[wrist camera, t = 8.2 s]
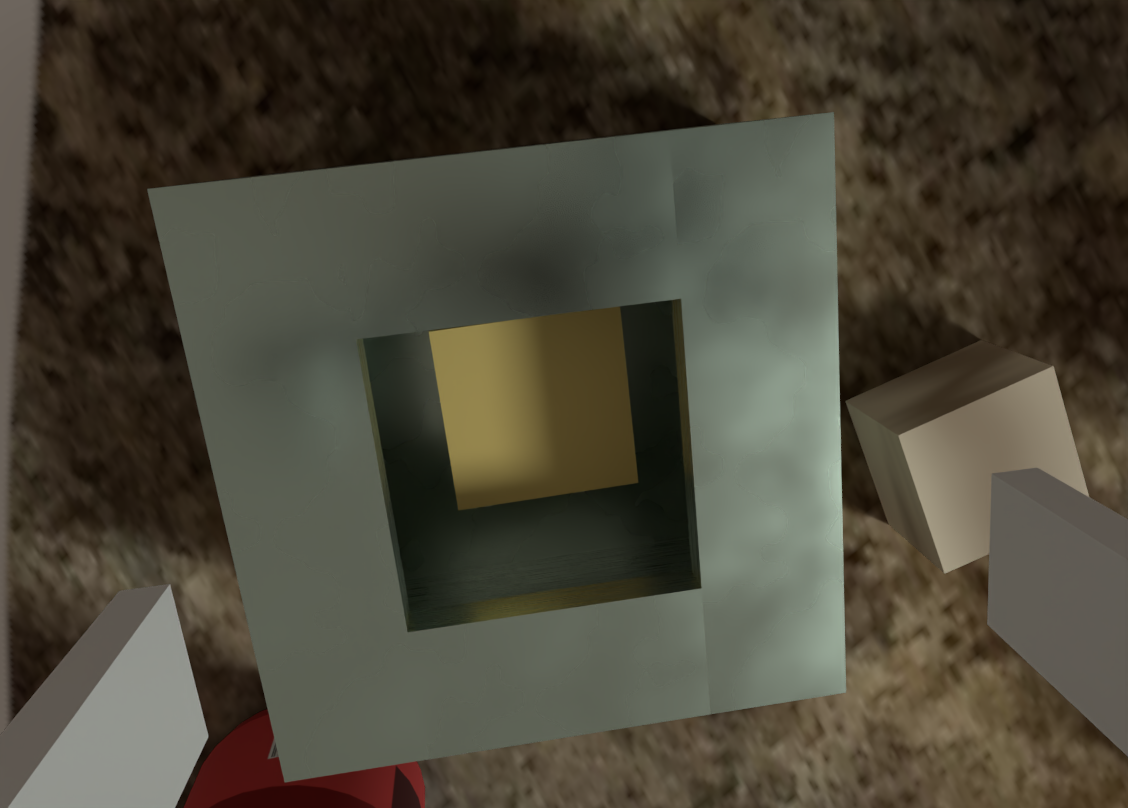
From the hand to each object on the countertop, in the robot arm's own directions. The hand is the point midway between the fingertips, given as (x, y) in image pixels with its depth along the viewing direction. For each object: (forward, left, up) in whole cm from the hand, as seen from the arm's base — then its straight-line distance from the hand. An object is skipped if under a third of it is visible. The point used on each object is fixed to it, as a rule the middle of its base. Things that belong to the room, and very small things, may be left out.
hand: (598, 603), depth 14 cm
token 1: (0, 0, -14) cm, 14 cm away
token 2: (-14, +4, -15) cm, 21 cm away
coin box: (0, 0, -15) cm, 15 cm away
